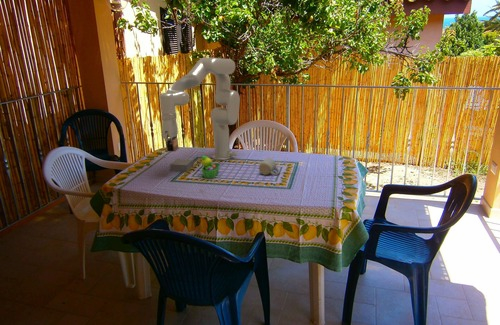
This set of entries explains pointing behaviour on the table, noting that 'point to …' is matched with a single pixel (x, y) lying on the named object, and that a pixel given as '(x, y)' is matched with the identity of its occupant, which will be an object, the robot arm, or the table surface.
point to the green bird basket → (209, 167)
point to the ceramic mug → (268, 167)
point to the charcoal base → (181, 165)
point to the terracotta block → (174, 144)
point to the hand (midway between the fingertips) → (172, 149)
